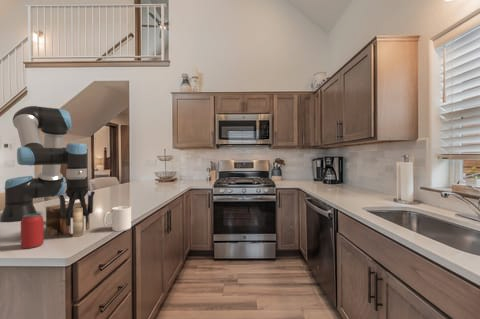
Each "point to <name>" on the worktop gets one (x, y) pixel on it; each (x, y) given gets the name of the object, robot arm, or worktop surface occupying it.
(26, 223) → the beer can
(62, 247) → the worktop surface
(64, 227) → the tethered cylinder
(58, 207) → the cubby shelf
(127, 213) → the cup
